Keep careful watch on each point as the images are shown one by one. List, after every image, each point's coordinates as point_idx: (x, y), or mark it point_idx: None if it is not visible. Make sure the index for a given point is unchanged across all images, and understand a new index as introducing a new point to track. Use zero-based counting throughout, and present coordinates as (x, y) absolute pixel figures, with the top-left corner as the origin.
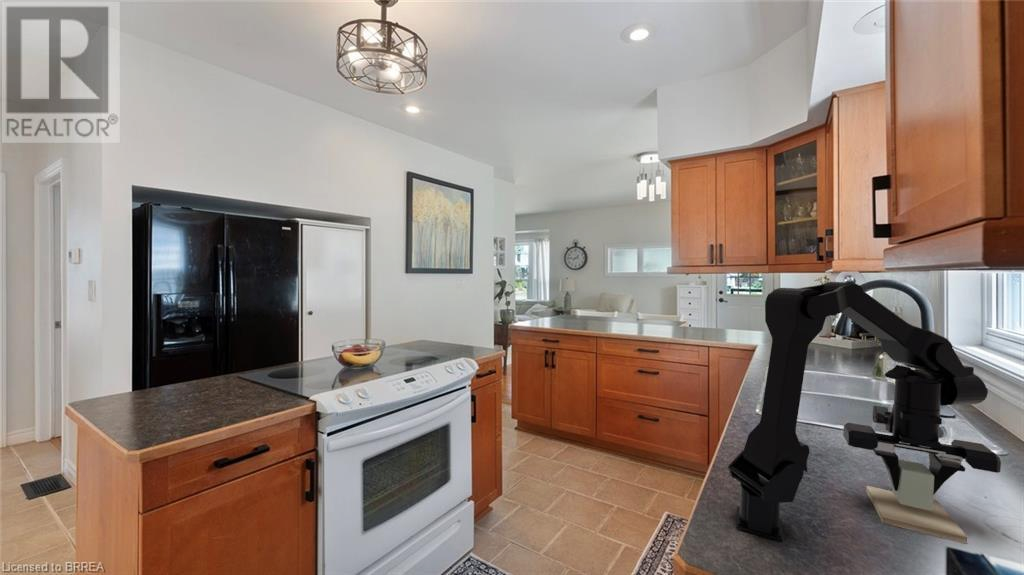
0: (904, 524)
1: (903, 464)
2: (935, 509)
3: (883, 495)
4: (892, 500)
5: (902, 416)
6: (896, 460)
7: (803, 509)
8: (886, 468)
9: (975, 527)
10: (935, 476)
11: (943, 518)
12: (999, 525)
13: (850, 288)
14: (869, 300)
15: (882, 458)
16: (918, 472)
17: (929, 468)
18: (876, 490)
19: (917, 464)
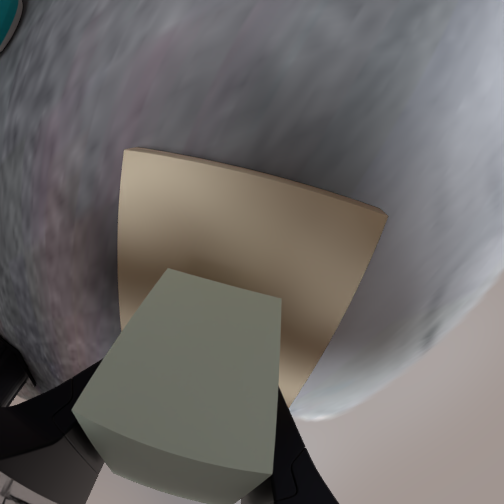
0: None
1: (123, 461)
2: (316, 299)
3: (159, 231)
4: (177, 269)
5: None
6: (80, 496)
7: (24, 317)
8: (74, 377)
9: (388, 323)
10: (243, 499)
11: (296, 349)
12: (465, 288)
13: None
14: None
15: (30, 407)
16: (172, 494)
17: (267, 489)
18: (147, 188)
19: (213, 475)
